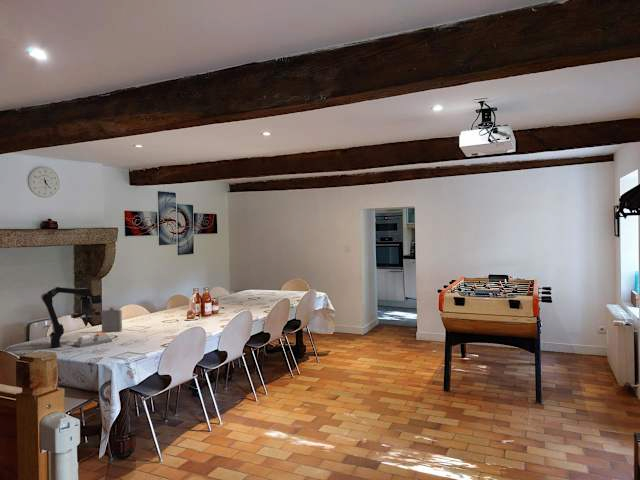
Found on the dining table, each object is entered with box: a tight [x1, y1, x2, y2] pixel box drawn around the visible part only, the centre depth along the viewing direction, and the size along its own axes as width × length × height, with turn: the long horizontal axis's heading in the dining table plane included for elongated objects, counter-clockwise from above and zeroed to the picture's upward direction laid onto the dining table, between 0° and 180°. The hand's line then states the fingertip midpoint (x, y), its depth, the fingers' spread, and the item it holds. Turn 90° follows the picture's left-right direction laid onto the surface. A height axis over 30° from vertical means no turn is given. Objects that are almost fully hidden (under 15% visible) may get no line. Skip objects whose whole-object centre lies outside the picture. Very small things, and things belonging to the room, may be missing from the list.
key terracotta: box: [95, 332, 107, 336], centre depth 332 cm, size 5×5×3 cm
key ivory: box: [79, 334, 91, 339], centre depth 324 cm, size 5×5×3 cm
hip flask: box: [101, 306, 123, 333], centre depth 367 cm, size 16×4×20 cm, turn 93°
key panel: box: [73, 333, 113, 348], centre depth 328 cm, size 12×22×5 cm, turn 137°
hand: (86, 326), depth 332 cm, fingers closed
